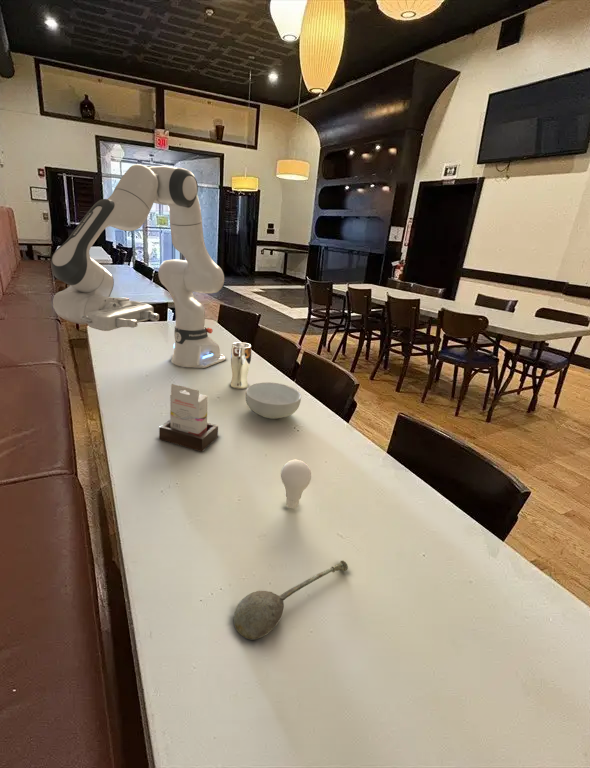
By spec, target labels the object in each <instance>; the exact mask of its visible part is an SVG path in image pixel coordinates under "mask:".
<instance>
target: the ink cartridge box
mask: <svg viewBox="0 0 590 768" xmlns="http://www.w3.org/2000/svg"><path fill="white" fill-rule="evenodd" d="M208 399H209V396H208V395H205V394H201V393H200V391H199V390H198V389H194V388H192V387H191V388H190V387H187V386H184V385H183V386H182V385H178V384H174V383H172V384H171V385H170V397H169V401H170V410H169V411H170V412H169V413H170V417H169V420H170V428H172V429H175V430H179V431H182V432H186V433H190V434H193V435H197V436H200V437H201V436H202V435H203V434H205V433H206V432H207V423H208V406H209V405H208V403H209V402H208Z"/></svg>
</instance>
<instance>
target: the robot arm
mask: <svg viewBox="0 0 590 768" xmlns="http://www.w3.org/2000/svg"><path fill="white" fill-rule="evenodd" d="M198 193H199V185H198V180H197V179H196V176H195V174H194V173H193V172H192V171H190V170H189V169H186V168H183V167H176V166H170V165H154V166H151V165H144V164H140V163H137V164H132V165H131V166H130V167H129V168H128V169H127V170H126V171H125V172H124V174H123V175H122V176H121V178H120V180H119V181H118V182H117V185H116V186H115V187H114V190H113V191H112V193H111V195H110V196H108V198H102V199H99V200H98V201H97V202H95V203H94V204H93V206H91V207H90V209H89V210H88V211H87V212H86V213H85V215H84V217H83V218H82V219H81V220H80V222H79V223H78V224H77V226H76V227H75V228H74V230H73V231H72V232H71V234H70V235H69V236H68V238H67V239H66V240H65V241H64V242H63V243H62V244H61V245H60V246H59V247H58V248H57V249H55V250H54V252H53V253H52V256H51V258H50V269H51V272H52V275H53V276H54V277H55V279H57V280H59V281H60V282H63V283H64V284H66V285H68V287H66V288H65V289H63V290H60V291H57V292H56V293H55V295H54V296H53V299H52V307H53V310H54V312H55V313H56V315H57V316H59V317H60V318H61V319H63V320H65V321H67V322H71V323H73V324H78V325H87V326H88V327H89V328H91V329H95V330H98V331H102V332H110V331H113V330H116V329H120V328H131V329H134V328H137V327H138V326H139V325H138V323H141V322H144V321H148V320H150V321H153V322H158V321H159V320H160V314H159V313H156V312H154V311H155V309H154V306H153V305H151V304H148V303H145V302H141V301H136V300H130V298H129V297H125V296H124V297H123V296H122V297H121V296H119V297H112V296H111V294H112V292H113V290H114V286H115V279H114V276H113V274H112V273H111V272H110V271H109V270H108V269H106V268H105V267H104V266H103V265H101V263H99V262H97V261H96V260H95V259H94V258H93V257H91V254H90V250H91V248H92V247H93V245H94V244H95V242H96V241H97V240H98V238H99V237H100V235H101V234H102V233H103V232H104V230H105V229H107V228H109V227H111V228H113V229H116V230H120V231H124V232H133V231H137V230H139V229H140V228H141V227H142V226H143V225H144V224H145V222H146V221H147V219H148V216H149V214H150V213H151V210H152V208H153V205H154V204H157V205H162V206H167V207H168V215H169V216H168V217H169V218H168V219H169V227H170V235H171V243H172V246H173V248H174V249H175V250H176V251H177V252H178V253H180V254H181V255H182V256H183V257H184V259H179V258H175V259H167V260H166V259H165V260H163V261H162V262H161V264H160V265H159V267H158V270H157V274H158V279H159V282H160V283H161V285H163V287H164V288H165V289H166V290H167V291H168V293H169V294H170V296H171V299H172V301H173V305H174V313H175V325H174V343H173V346H172V347H173V354H172V357H171V360H170V361H171V363H172V364H173V365H175V366H178V367H183V368H197V369H198V368H199V369H206V368H208V367H211V366H213V365H216V364H219V363H221V362H224V361H226V356H225V355H223V354H222V353H221V348H220V345H219V344H218V343H217V342H216V341H214V340H213V339H212V338H211V337H209V334H212V333H213V330H214V329H213V328H211V327H205V322H206V310H205V307H204V305H203V304H202V303H201V302H199V300H197V299H196V297H195V295H194V293H198V294H199V293H200V294H215V293H216V294H217V293H219V292H220V291H221V290H222V289H223V287H224V283H225V273H224V271H223V269H222V268H221V267H220V265H218V264H217V263H216V262H215V261H214V260H213V258H212V257H211V255H210V254H209V251H208V249H207V247H206V244H205V236H204V230H203V229H204V228H203V218H202V217H203V216H202V209H201V204H200V200H199V196H198Z"/></svg>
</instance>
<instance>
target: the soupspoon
mask: <svg viewBox="0 0 590 768" xmlns="http://www.w3.org/2000/svg"><path fill="white" fill-rule="evenodd" d="M348 569H349V566H348V563H347V562H346V561H345V560H340V562H339V563H338V564H336V565H334V566H330V567H329V568H328V569H325V570H323V571H321V572H319V573H317V574H315V575H313V576H311V577H310V578H308V579H305V580H304V581H302V582H300V583H298V584H296V585H295V586H292V587H291V588H289V589H288V590H286V591H284V592H283V593H280V594H279V595H278V594H276V593H274V592H272V591H268V590H256V591H253V592H251V593H248V594H247V595H245V596H244V597H243V598H241V600H240V601H239V602H238V603H237V605H236V607H235V609H234V613H233V624H234V628H235V630H236V631H237V633H238V634H239V635H241V636H242V637H244V638H245V639H247V640H258V639H261V638H263V637H265V636H266V635H268V634H269V633H270V632H271V631H273V629H275V628H276V626H277V625H278V623H279V622H280V621H281V619H282V617H283V613H284V608H285V603H284V600H286V599H288V598H289V597H290V596H292V595H293V594H295V593H297V592H298V591H300V590H302V589H303V588H304V587H306V586H308V585H310V584H312V583H314V582H315V581H317V580H319V579H321V578H323V577H324V576H326V575H329V574H330V573H335V572H339V571H343V572H346V571H348Z"/></svg>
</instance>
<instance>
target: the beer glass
mask: <svg viewBox="0 0 590 768" xmlns="http://www.w3.org/2000/svg"><path fill="white" fill-rule="evenodd" d="M251 361H252V345H251V343H248V342H244V341H243V342H242V341H237V342H232V344H231V351H230V367H231V373H232V374H231V381H230V387H231V388H233V389H237V390H242V389H243V390H244V389H247V388H248V387H249V384H248V375H249V374H248V373H249V370H250V368H251V367H250V366H251Z"/></svg>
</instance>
